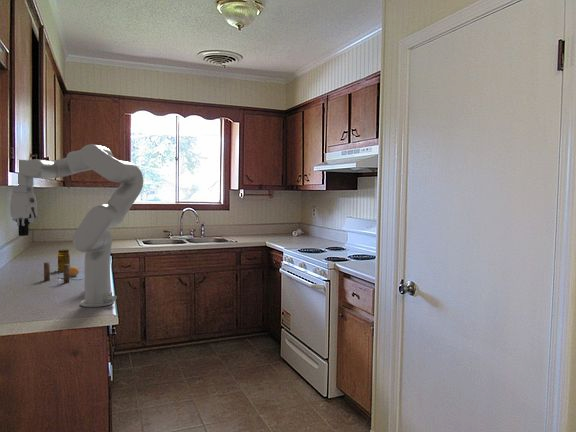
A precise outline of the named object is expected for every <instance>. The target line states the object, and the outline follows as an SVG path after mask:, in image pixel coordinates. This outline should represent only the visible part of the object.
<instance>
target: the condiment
mask: <svg viewBox="0 0 576 432" xmlns="http://www.w3.org/2000/svg"><path fill="white" fill-rule="evenodd" d="M70 257H71V255H70V250H69V249H58V255H57V271H59V272H60V273H63V265H64V264H69V268H70V267H71V265H70V264H71V263H70V262H71V258H70Z"/></svg>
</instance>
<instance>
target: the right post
mask: <svg viewBox="0 0 576 432" xmlns="http://www.w3.org/2000/svg"><path fill="white" fill-rule="evenodd" d="M62 273H63V275H62V276H63V278H62V280H63V283H64V284H69V283H70V279H69V264H64V265H63V272H62Z"/></svg>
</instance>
